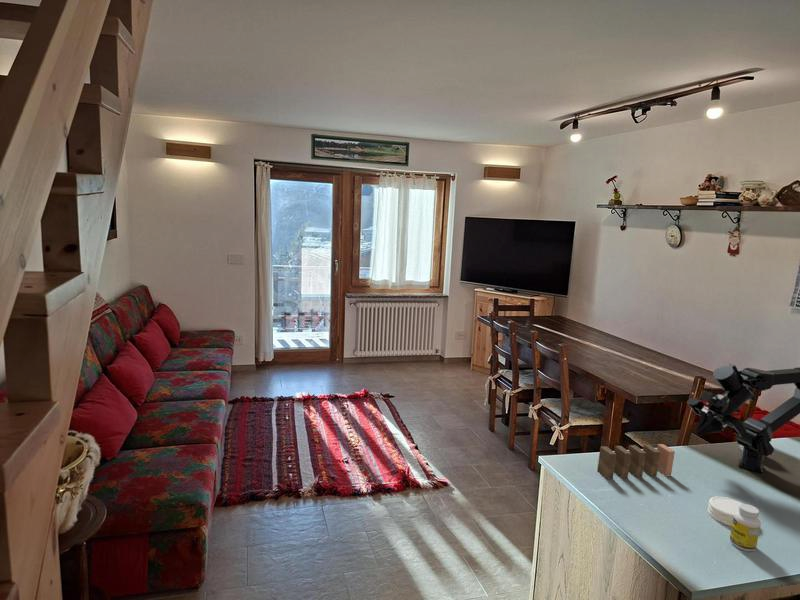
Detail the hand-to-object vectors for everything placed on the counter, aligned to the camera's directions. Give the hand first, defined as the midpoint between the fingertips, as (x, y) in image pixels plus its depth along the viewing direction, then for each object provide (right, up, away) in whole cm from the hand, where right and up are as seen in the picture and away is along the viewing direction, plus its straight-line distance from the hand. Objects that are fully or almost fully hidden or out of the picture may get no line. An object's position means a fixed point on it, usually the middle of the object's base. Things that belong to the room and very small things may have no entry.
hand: (696, 434), depth 159 cm
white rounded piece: (-5, -16, -23) cm, 29 cm away
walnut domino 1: (-30, -11, -4) cm, 32 cm away
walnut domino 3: (-20, -11, -2) cm, 23 cm away
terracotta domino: (-11, -12, 0) cm, 16 cm away
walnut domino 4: (-15, -11, -1) cm, 19 cm away
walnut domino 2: (-25, -11, -3) cm, 28 cm away
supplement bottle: (-9, -18, -35) cm, 40 cm away
